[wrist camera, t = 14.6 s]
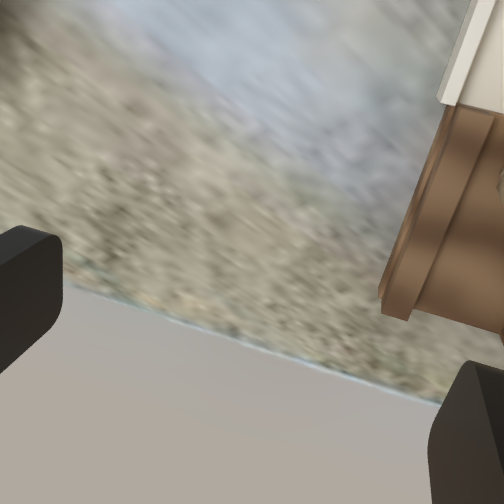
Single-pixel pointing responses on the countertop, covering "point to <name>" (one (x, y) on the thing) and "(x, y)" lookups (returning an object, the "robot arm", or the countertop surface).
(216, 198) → the countertop surface
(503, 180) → the handle
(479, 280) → the slot board
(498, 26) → the tray
